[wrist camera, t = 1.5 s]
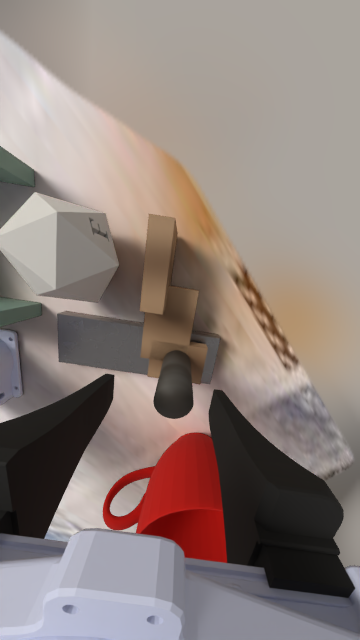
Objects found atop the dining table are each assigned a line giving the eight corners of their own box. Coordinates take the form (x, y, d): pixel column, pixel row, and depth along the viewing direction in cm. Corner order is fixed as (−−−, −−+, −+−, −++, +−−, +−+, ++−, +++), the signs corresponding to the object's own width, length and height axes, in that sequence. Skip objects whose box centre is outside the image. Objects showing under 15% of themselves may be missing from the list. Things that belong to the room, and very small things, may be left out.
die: (125, 305, 21) (138, 264, 12) (38, 320, 17) (-28, 276, 9) (109, 245, 22) (111, 169, 13) (24, 247, 18) (-48, 143, 10)
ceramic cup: (128, 405, 24) (90, 493, 14) (248, 420, 24) (290, 517, 14) (123, 473, 27) (90, 582, 18) (229, 486, 27) (253, 601, 18)
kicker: (198, 371, 22) (207, 431, 14) (143, 363, 22) (118, 418, 13) (224, 241, 18) (260, 211, 10) (158, 230, 18) (136, 191, 10)
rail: (208, 377, 23) (209, 384, 21) (66, 356, 22) (58, 361, 21) (217, 334, 21) (220, 338, 20) (66, 311, 21) (57, 313, 19)
